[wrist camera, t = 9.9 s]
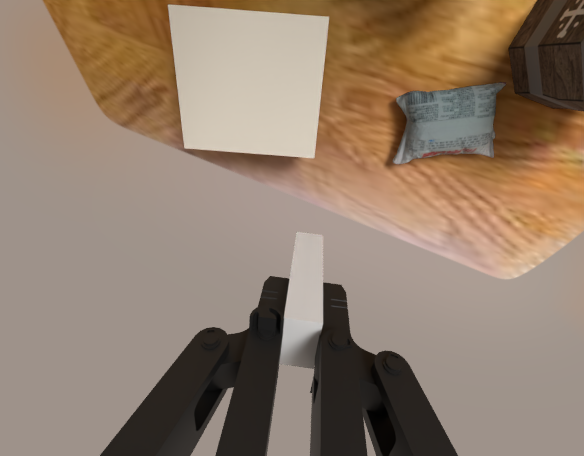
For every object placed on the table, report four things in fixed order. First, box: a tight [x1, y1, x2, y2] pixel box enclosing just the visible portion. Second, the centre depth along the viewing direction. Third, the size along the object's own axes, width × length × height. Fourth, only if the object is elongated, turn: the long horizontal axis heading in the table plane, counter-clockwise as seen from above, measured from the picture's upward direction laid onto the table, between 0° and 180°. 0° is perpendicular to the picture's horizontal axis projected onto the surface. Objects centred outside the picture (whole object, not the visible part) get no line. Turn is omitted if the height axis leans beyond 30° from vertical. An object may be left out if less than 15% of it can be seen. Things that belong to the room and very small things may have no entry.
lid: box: [168, 4, 329, 158], centre depth 30 cm, size 13×14×1 cm
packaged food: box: [393, 82, 506, 164], centre depth 36 cm, size 9×12×5 cm
